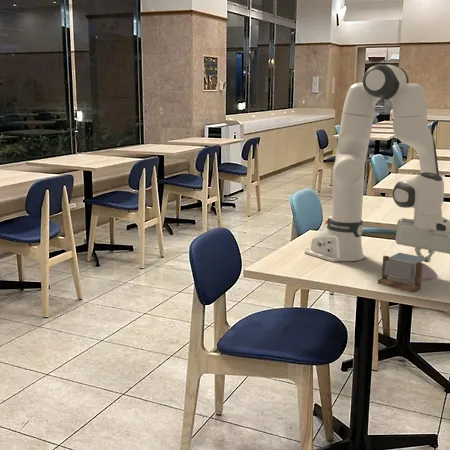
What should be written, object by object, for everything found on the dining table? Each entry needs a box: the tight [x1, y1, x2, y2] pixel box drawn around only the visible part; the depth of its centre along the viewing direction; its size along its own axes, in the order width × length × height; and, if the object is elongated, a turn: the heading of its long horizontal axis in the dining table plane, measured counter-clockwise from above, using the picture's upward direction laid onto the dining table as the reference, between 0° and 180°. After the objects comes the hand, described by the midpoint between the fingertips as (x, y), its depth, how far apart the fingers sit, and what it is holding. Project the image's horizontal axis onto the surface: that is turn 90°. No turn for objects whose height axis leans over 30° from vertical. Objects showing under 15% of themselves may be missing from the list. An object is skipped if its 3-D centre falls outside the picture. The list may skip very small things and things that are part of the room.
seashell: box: [413, 263, 438, 280], centre depth 196 cm, size 10×6×10 cm
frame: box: [377, 255, 424, 293], centre depth 184 cm, size 13×4×8 cm, turn 49°
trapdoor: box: [384, 252, 427, 281], centre depth 186 cm, size 9×11×5 cm
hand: (423, 261), depth 195 cm, fingers closed
